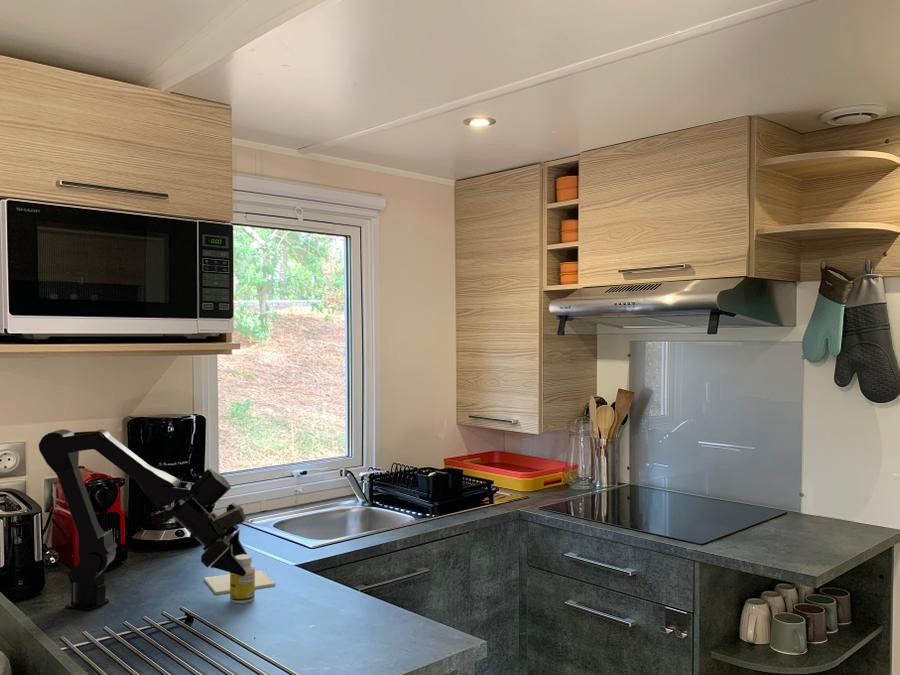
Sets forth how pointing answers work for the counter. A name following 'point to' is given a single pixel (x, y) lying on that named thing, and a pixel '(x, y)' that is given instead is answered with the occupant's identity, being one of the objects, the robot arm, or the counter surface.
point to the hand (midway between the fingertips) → (247, 568)
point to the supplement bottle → (243, 581)
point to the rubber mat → (223, 582)
